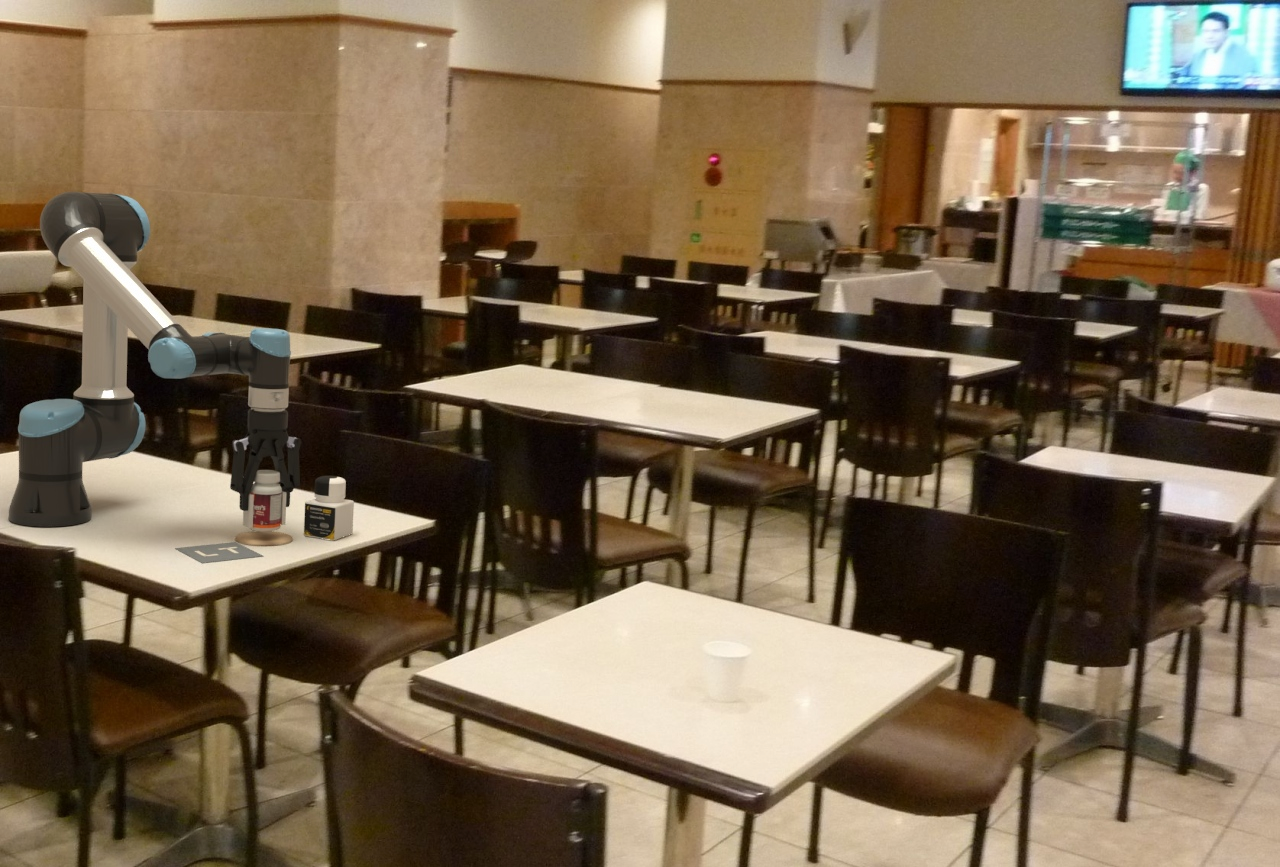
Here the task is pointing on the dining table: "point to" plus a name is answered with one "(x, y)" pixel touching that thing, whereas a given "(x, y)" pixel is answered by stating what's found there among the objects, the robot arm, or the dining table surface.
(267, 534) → the coaster
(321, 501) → the medicine bottle
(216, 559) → the tile
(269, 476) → the pill bottle
